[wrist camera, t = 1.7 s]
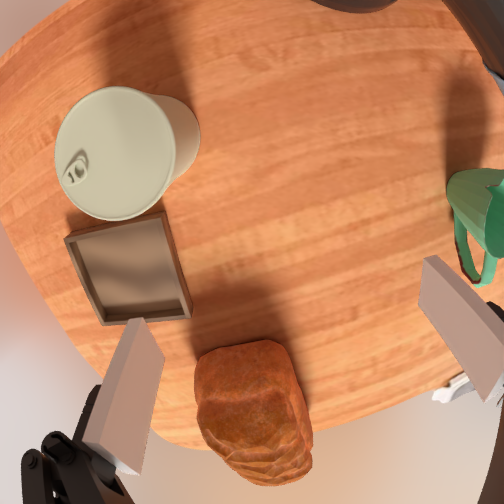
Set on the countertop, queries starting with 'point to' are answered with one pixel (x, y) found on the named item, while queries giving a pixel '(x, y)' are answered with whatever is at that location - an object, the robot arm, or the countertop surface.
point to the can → (123, 150)
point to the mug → (478, 218)
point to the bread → (254, 412)
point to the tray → (131, 270)
